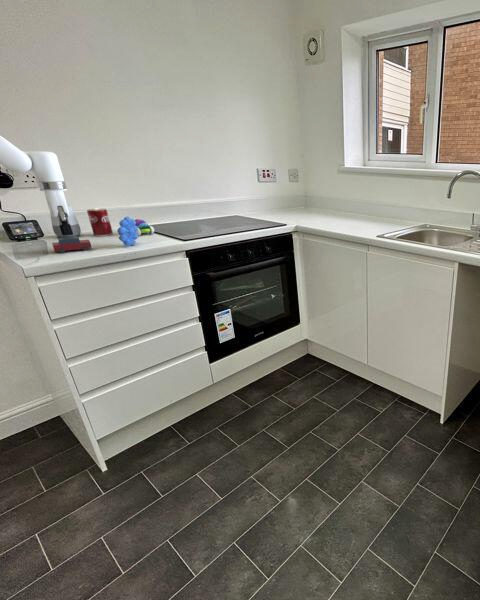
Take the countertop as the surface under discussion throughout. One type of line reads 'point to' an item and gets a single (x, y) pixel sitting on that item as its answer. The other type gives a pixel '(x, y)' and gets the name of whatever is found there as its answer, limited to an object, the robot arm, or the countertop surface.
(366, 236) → the countertop surface
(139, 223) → the multicoloured rounded piece
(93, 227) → the soda can
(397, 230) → the countertop surface
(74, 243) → the red boxy piece
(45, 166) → the robot arm
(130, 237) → the grapes
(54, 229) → the smart speaker
